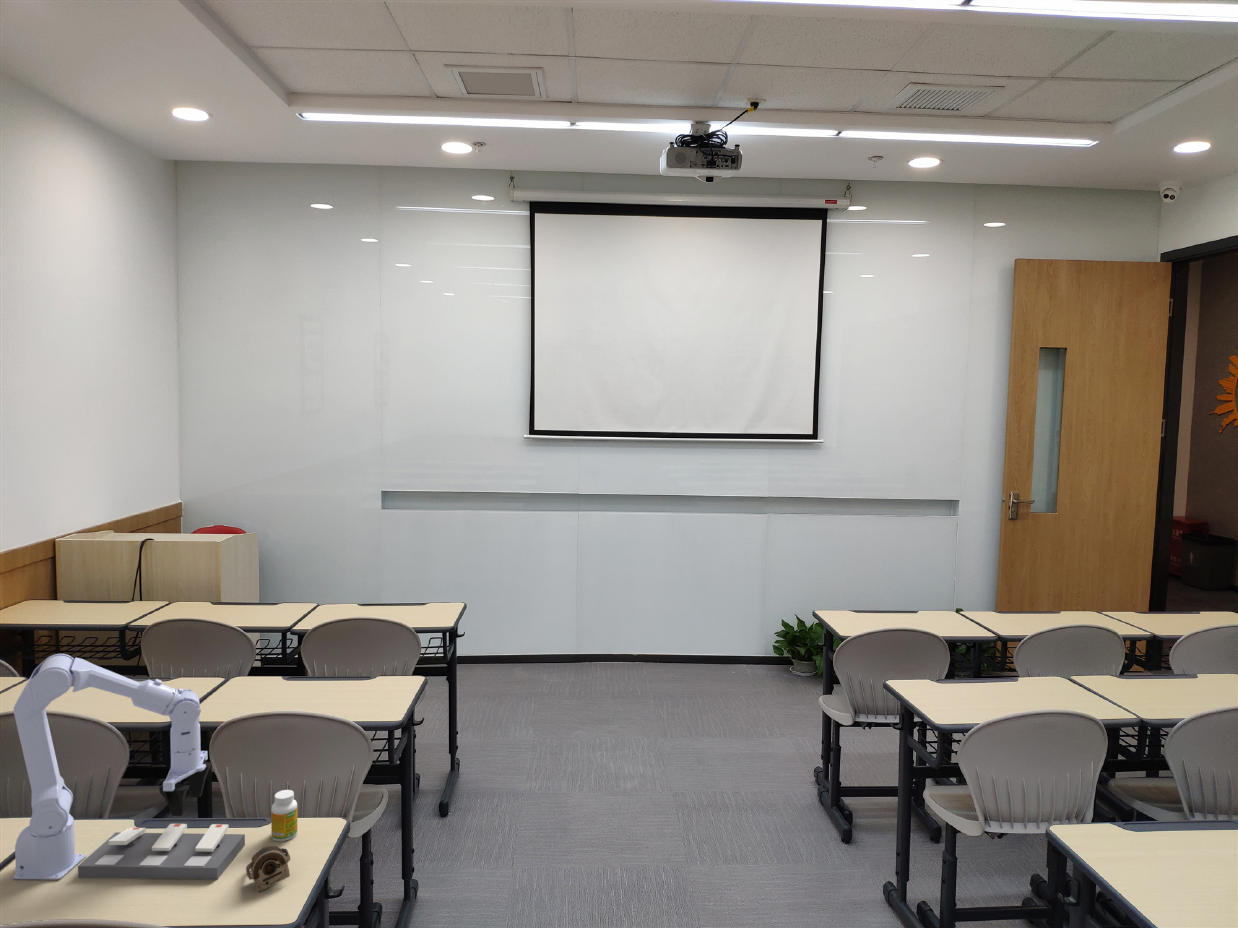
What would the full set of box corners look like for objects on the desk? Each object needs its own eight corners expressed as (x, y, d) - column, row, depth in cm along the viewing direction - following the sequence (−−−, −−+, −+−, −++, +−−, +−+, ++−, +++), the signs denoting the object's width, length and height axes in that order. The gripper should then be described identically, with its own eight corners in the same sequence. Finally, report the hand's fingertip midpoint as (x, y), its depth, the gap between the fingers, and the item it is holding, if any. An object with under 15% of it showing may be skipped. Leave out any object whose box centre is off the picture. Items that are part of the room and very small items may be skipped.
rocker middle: (152, 852, 158) (151, 847, 158) (170, 828, 165) (170, 823, 165) (169, 852, 158) (168, 847, 158) (187, 828, 165) (186, 823, 165)
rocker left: (108, 846, 158) (108, 840, 158) (128, 833, 165) (129, 827, 165) (125, 846, 158) (126, 840, 158) (145, 833, 165) (145, 827, 165)
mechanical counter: (228, 871, 149) (280, 857, 150) (247, 829, 161) (295, 816, 163) (238, 901, 150) (290, 887, 152) (256, 857, 163) (304, 845, 164)
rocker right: (195, 852, 159) (195, 847, 158) (212, 828, 165) (211, 823, 165) (213, 852, 159) (212, 847, 158) (229, 828, 165) (228, 824, 165)
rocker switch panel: (78, 877, 154) (77, 863, 153) (115, 843, 165) (115, 829, 165) (217, 879, 154) (217, 864, 154) (244, 844, 166) (244, 831, 166)
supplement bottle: (287, 843, 167) (287, 801, 166) (266, 840, 168) (265, 798, 168) (302, 830, 173) (302, 789, 172) (281, 826, 174) (281, 786, 173)
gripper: (186, 762, 160) (187, 823, 161) (220, 732, 174) (221, 788, 175) (152, 762, 160) (153, 823, 161) (189, 732, 174) (190, 788, 175)
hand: (187, 805), depth 168 cm, fingers open, 7 cm apart
